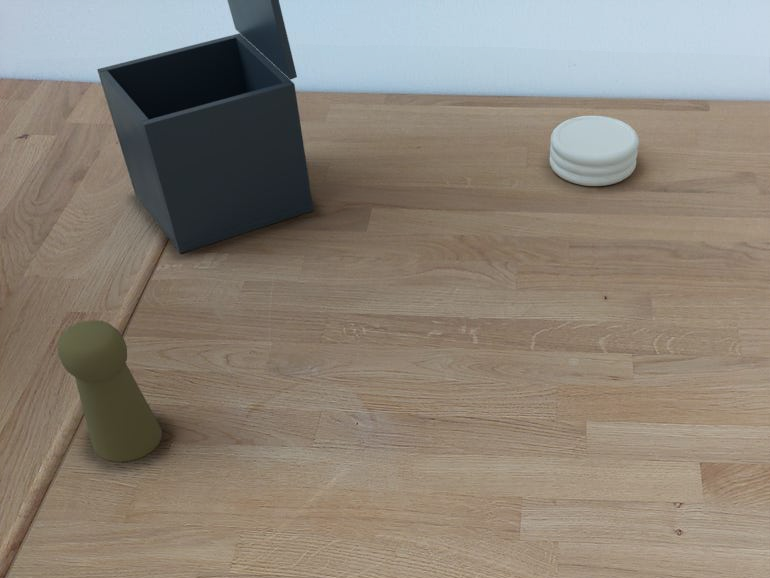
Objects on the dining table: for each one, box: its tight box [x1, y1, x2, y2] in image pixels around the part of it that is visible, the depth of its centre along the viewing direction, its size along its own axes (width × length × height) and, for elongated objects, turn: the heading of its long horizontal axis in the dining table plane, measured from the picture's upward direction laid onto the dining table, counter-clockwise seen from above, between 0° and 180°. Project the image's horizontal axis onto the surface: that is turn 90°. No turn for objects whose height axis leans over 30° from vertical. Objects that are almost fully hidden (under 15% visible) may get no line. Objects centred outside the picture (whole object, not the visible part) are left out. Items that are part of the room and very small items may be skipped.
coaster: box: [549, 115, 640, 187], centre depth 110 cm, size 10×10×4 cm
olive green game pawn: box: [57, 319, 163, 463], centre depth 80 cm, size 6×6×11 cm
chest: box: [96, 32, 314, 254], centre depth 102 cm, size 16×14×13 cm
